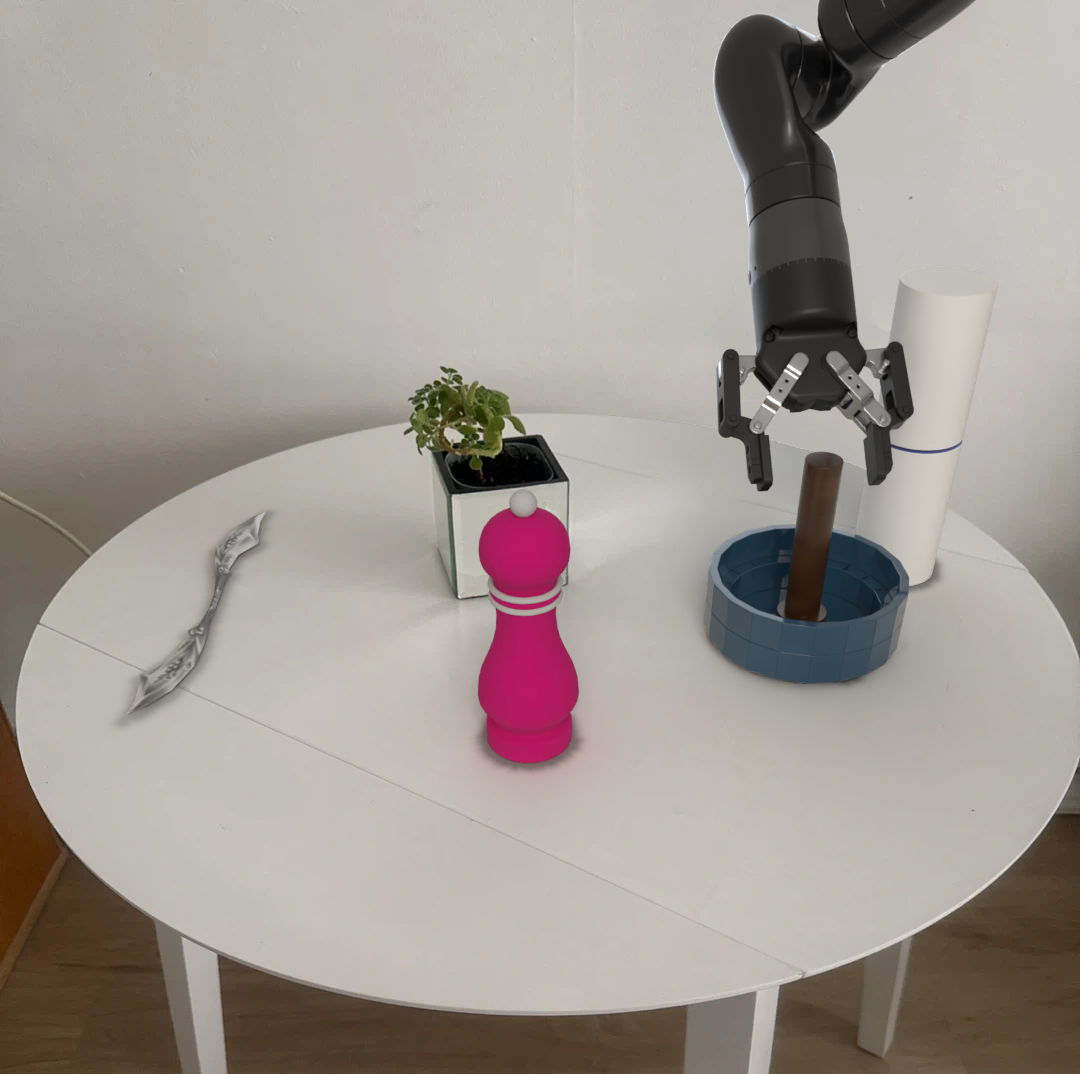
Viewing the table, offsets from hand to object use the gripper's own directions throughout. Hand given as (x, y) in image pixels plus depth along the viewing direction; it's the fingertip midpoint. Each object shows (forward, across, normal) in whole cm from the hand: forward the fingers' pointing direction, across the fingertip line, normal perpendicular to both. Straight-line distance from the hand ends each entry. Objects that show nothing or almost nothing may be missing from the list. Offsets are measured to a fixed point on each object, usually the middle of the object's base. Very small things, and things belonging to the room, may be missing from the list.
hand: (822, 485), depth 86 cm
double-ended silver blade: (+2, -49, +17) cm, 52 cm away
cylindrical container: (+3, +11, +17) cm, 20 cm away
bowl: (+10, 0, +10) cm, 14 cm away
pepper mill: (+17, -23, +2) cm, 29 cm away
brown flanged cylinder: (+9, 0, +9) cm, 13 cm away
